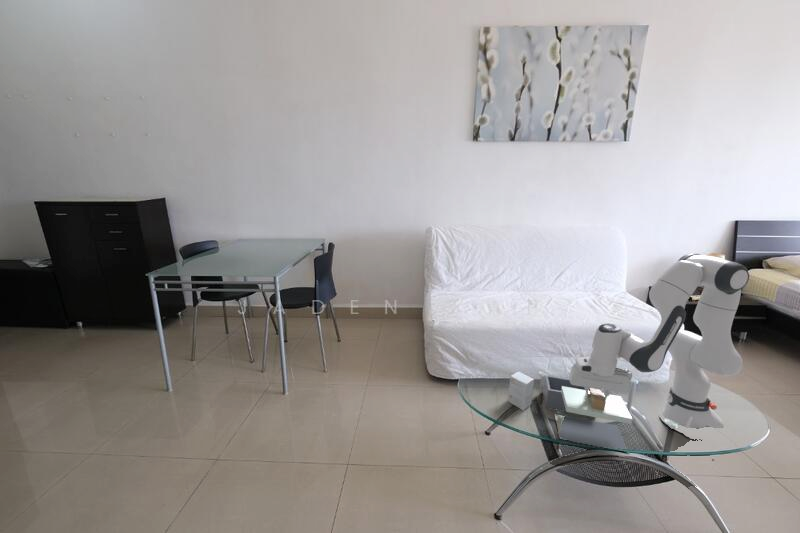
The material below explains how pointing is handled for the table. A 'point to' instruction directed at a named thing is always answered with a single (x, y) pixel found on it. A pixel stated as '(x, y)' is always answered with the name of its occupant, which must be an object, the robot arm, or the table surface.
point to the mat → (591, 433)
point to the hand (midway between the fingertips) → (595, 397)
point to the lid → (595, 404)
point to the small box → (520, 390)
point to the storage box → (556, 392)
